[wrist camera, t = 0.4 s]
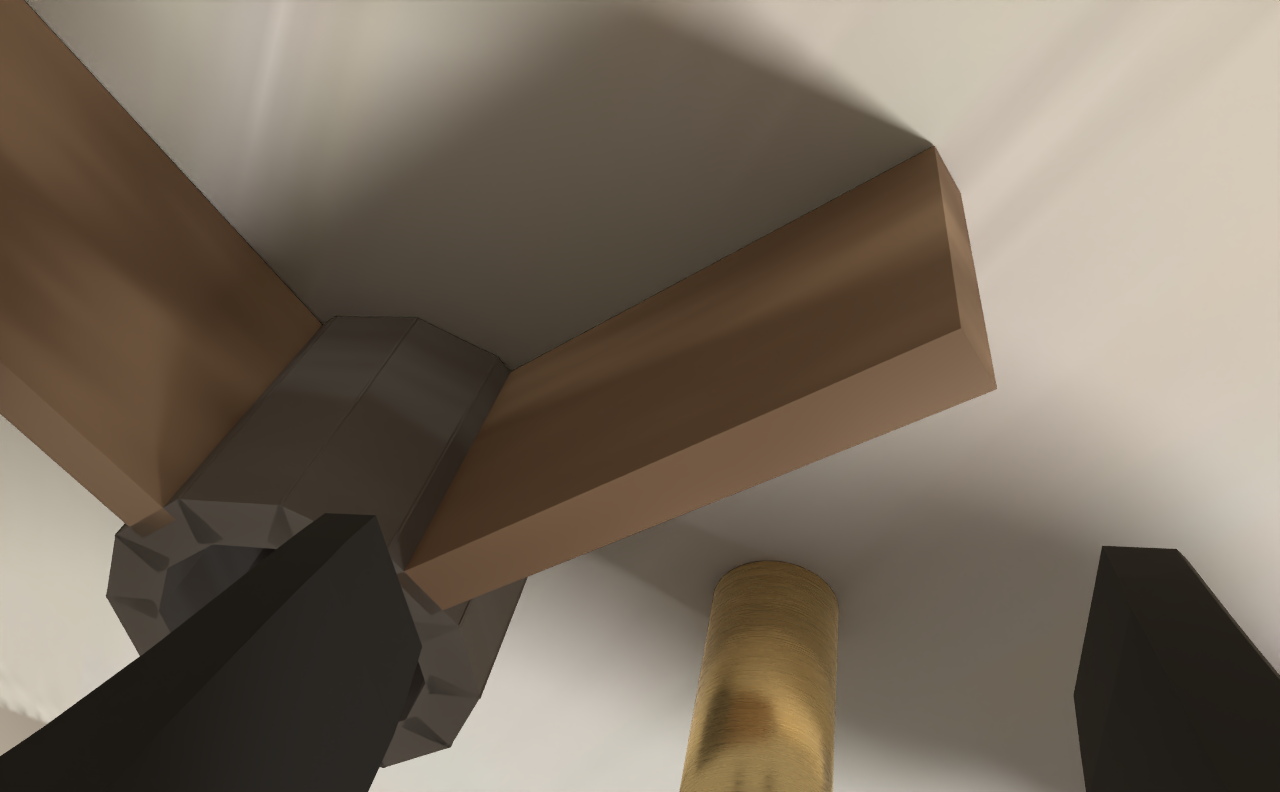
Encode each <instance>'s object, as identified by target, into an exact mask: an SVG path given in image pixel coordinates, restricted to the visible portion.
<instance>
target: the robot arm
mask: <svg viewBox="0 0 1280 792" xmlns="http://www.w3.org/2000/svg"><path fill="white" fill-rule="evenodd" d="M421 649H422V644H421V641H420V639H419V636H418V633H417V630H416V627H415V624H414V622H413V619H412V616H411V613H410V610H409V607H408V605H407V602H406V599H405V596H404V593H403V590H402V588H401V585H400V582H399V579H398V576H397V573H396V571H395V568H394V565H393V562H392V559H391V557H390V554H389V551H388V548H387V545H386V542H385V540H384V537H383V534H382V531H381V528H380V525H379V523H378V520H377V517H376V515H358V514H335V513H324V514H323V515H322V516H320V517H319V518H317V519H316V520H315V521H313V522H312V523H310V524H309V525H308V526H306V527H305V528H304V529H302V530H301V531H300V532H298V533H297V534H296V535H294V536H293V537H292V538H290V539H289V540H288V541H286V542H285V543H284V544H283V545H281V546H280V547H279V548H277V549H276V550H275V551H274V552H272V553H271V554H270V555H268V556H267V557H266V558H265V559H263V560H262V561H261V562H260V563H258V564H257V565H256V566H255V567H253V568H252V569H251V570H250V571H248V572H247V573H246V574H245V575H243V576H242V577H241V578H240V579H238V580H237V581H236V582H234V583H233V584H232V585H231V586H229V587H228V588H227V589H226V590H224V591H223V592H222V593H221V594H219V595H218V596H217V597H216V598H214V599H213V600H212V601H210V602H209V603H208V604H207V605H205V606H204V607H203V608H202V609H200V610H199V611H198V612H196V613H195V614H194V615H193V616H191V617H190V618H189V619H188V620H186V621H185V622H184V623H182V624H181V625H180V626H179V627H177V628H176V629H175V630H174V631H172V632H171V633H170V634H168V635H167V636H166V637H165V638H163V639H162V640H161V641H159V642H158V643H157V644H156V645H154V646H153V647H152V648H150V649H149V650H148V651H147V652H145V653H144V654H143V655H141V656H140V657H139V658H137V659H136V660H134V661H133V662H132V663H130V664H129V665H128V666H126V667H125V668H124V669H122V670H121V671H119V672H118V673H117V674H115V675H114V676H113V677H111V678H110V679H108V680H107V681H106V682H104V683H103V684H102V685H100V686H99V687H98V688H96V689H95V690H93V691H92V692H91V693H89V694H88V695H87V696H85V697H84V698H83V699H81V700H80V701H78V702H77V703H76V704H74V705H73V706H72V707H70V708H69V709H67V710H66V711H65V712H63V713H62V714H61V715H59V716H58V717H57V718H55V719H54V720H52V721H51V722H50V723H48V724H47V725H46V726H44V727H43V728H41V729H40V730H38V731H37V732H35V733H34V734H32V735H31V736H30V737H28V738H27V739H25V740H24V741H22V742H21V743H19V744H18V745H16V746H15V747H13V748H12V749H10V750H9V751H7V752H6V753H4V754H3V755H1V756H0V792H368V791H369V788H370V786H371V784H372V782H373V780H374V778H375V776H376V773H377V771H378V769H379V767H380V765H381V763H382V760H383V758H384V756H385V754H386V752H387V749H388V747H389V745H390V743H391V740H392V738H393V736H394V733H395V731H396V728H397V725H398V722H399V719H400V716H401V713H402V710H403V707H404V704H405V701H406V698H407V695H408V692H409V689H410V685H411V682H412V679H413V676H414V672H415V669H416V666H417V662H418V659H419V656H420V653H421ZM1074 702H1075V710H1076V718H1077V726H1078V734H1079V742H1080V751H1081V758H1082V765H1083V772H1084V780H1085V787H1086V792H1280V675H1279V674H1278V673H1277V672H1276V670H1275V669H1274V668H1273V667H1272V666H1271V664H1270V663H1269V662H1268V661H1267V659H1266V658H1265V657H1264V656H1263V655H1262V653H1261V652H1260V651H1259V650H1258V649H1257V647H1256V646H1255V645H1254V644H1253V642H1252V641H1251V640H1250V639H1249V637H1248V636H1247V635H1246V634H1245V632H1244V631H1243V630H1242V629H1241V628H1240V626H1239V625H1238V624H1237V623H1236V621H1235V620H1234V619H1233V618H1232V616H1231V615H1230V614H1229V612H1228V611H1227V610H1226V609H1225V607H1224V606H1223V605H1222V604H1221V602H1220V601H1219V600H1218V598H1217V597H1216V596H1215V595H1214V593H1213V592H1212V591H1211V590H1210V588H1209V587H1208V586H1207V584H1206V583H1205V582H1204V581H1203V579H1202V578H1201V577H1200V575H1199V574H1198V573H1197V572H1196V570H1195V569H1194V568H1193V566H1192V565H1191V564H1190V563H1189V561H1188V560H1187V559H1186V558H1185V557H1184V556H1183V555H1182V554H1181V553H1180V552H1179V551H1178V550H1177V549H1162V548H1138V547H1115V546H1102V550H1101V555H1100V561H1099V566H1098V571H1097V576H1096V582H1095V587H1094V592H1093V597H1092V602H1091V608H1090V613H1089V618H1088V623H1087V628H1086V634H1085V639H1084V644H1083V649H1082V654H1081V660H1080V665H1079V670H1078V675H1077V680H1076V686H1075V691H1074Z"/></svg>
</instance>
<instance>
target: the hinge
mask: <svg viewBox="0 0 1280 792" xmlns="http://www.w3.org/2000/svg"><path fill="white" fill-rule="evenodd" d="M996 389H997V386H996V381H995V375H994V370H993V365H992V359H991V354H990V349H989V343H988V338H987V332H986V327H985V322H984V316H983V311H982V305H981V300H980V295H979V289H978V284H977V278H976V273H975V268H974V262H973V257H972V252H971V246H970V241H969V235H968V230H967V225H966V219H965V214H964V208H963V203H962V198H961V193H960V191H959V189H958V188H957V186H956V184H955V182H954V180H953V178H952V177H951V175H950V173H949V171H948V169H947V168H946V166H945V164H944V162H943V160H942V158H941V157H940V155H939V153H938V151H937V149H936V148H935V146H933V147H931V148H929V149H927V150H925V151H924V152H922V153H920V154H918V155H916V156H914V157H912V158H910V159H909V160H907V161H905V162H903V163H901V164H899V165H897V166H895V167H894V168H892V169H890V170H888V171H886V172H884V173H882V174H880V175H879V176H877V177H875V178H873V179H871V180H869V181H867V182H865V183H864V184H862V185H860V186H858V187H856V188H854V189H852V190H851V191H849V192H847V193H845V194H843V195H841V196H839V197H837V198H836V199H834V200H832V201H830V202H828V203H826V204H824V205H822V206H821V207H819V208H817V209H815V210H813V211H811V212H809V213H807V214H806V215H804V216H802V217H800V218H798V219H796V220H794V221H793V222H791V223H789V224H787V225H785V226H783V227H781V228H779V229H778V230H776V231H774V232H772V233H770V234H768V235H766V236H764V237H763V238H761V239H759V240H757V241H755V242H753V243H751V244H749V245H748V246H746V247H744V248H742V249H740V250H738V251H736V252H734V253H733V254H731V255H729V256H727V257H725V258H723V259H721V260H720V261H718V262H716V263H714V264H712V265H710V266H708V267H706V268H705V269H703V270H701V271H699V272H697V273H695V274H693V275H691V276H690V277H688V278H686V279H684V280H682V281H680V282H678V283H676V284H675V285H673V286H671V287H669V288H667V289H665V290H663V291H662V292H660V293H658V294H656V295H654V296H652V297H650V298H648V299H647V300H645V301H643V302H641V303H639V304H637V305H635V306H633V307H632V308H630V309H628V310H626V311H624V312H622V313H620V314H618V315H617V316H615V317H613V318H611V319H609V320H607V321H605V322H603V323H602V324H600V325H598V326H596V327H594V328H592V329H590V330H589V331H587V332H585V333H583V334H581V335H579V336H577V337H575V338H574V339H572V340H570V341H568V342H566V343H564V344H562V345H560V346H559V347H557V348H555V349H553V350H551V351H549V352H547V353H545V354H544V355H542V356H540V357H538V358H536V359H534V360H532V361H531V362H529V363H527V364H525V365H523V366H521V367H519V368H517V369H516V370H514V371H512V372H510V371H509V370H508V369H507V368H506V366H505V365H504V364H503V363H502V362H501V360H500V359H499V358H498V357H497V356H494V355H492V354H490V353H488V352H486V351H484V350H482V349H480V348H478V347H476V346H474V345H472V344H470V343H468V342H466V341H463V340H461V339H459V338H457V337H455V336H453V335H451V334H449V333H447V332H445V331H443V330H441V329H439V328H437V327H435V326H433V325H431V324H428V323H426V322H424V321H422V320H420V319H419V318H416V317H415V318H392V317H337V316H336V317H334V318H333V319H331V320H330V321H328V322H327V323H325V324H324V325H322V324H321V323H320V322H319V321H318V320H317V319H316V317H315V316H314V315H313V314H312V313H311V312H310V311H309V310H308V309H307V308H306V307H305V305H304V304H303V303H302V302H301V301H300V300H299V299H298V298H297V297H296V296H295V295H294V294H293V292H292V291H291V290H290V289H289V288H288V287H287V286H286V285H285V284H284V283H283V282H282V280H281V279H280V278H279V277H278V276H277V275H276V274H275V273H274V272H273V271H272V270H271V269H270V267H269V266H268V265H267V264H266V263H265V262H264V261H263V260H262V259H261V258H260V257H259V255H258V254H257V253H256V252H255V251H254V250H253V249H252V248H251V247H250V246H249V245H248V244H247V242H246V241H245V240H244V239H243V238H242V237H241V236H240V235H239V234H238V233H237V232H236V230H235V229H234V228H233V227H232V226H231V225H230V224H229V223H228V222H227V221H226V220H225V219H224V217H223V216H222V215H221V214H220V213H219V212H218V211H217V210H216V209H215V208H214V207H213V205H212V204H211V203H210V202H209V201H208V200H207V199H206V198H205V197H204V196H203V195H202V194H201V192H200V191H199V190H198V189H197V188H196V187H195V186H194V185H193V184H192V183H191V182H190V180H189V179H188V178H187V177H186V176H185V175H184V174H183V173H182V172H181V171H180V170H179V169H178V167H177V166H176V165H175V164H174V163H173V162H172V161H171V160H170V159H169V158H168V157H167V155H166V154H165V153H164V152H163V151H162V150H161V149H160V148H159V147H158V146H157V145H156V144H155V142H154V141H153V140H152V139H151V138H150V137H149V136H148V135H147V134H146V133H145V132H144V130H143V129H142V128H141V127H140V126H139V125H138V124H137V123H136V122H135V121H134V120H133V119H132V117H131V116H130V115H129V114H128V113H127V112H126V111H125V110H124V109H123V108H122V107H121V105H120V104H119V103H118V102H117V101H116V100H115V99H114V98H113V97H112V96H111V95H110V94H109V92H108V91H107V90H106V89H105V88H104V87H103V86H102V85H101V84H100V83H99V82H98V80H97V79H96V78H95V77H94V76H93V75H92V74H91V73H90V72H89V71H88V70H87V69H86V67H85V66H84V65H83V64H82V63H81V62H80V61H79V60H78V59H77V58H76V57H75V55H74V54H73V53H72V52H71V51H70V50H69V49H68V48H67V47H66V46H65V45H64V44H63V42H62V41H61V40H60V39H59V38H58V37H57V36H56V35H55V34H54V33H53V32H52V30H51V29H50V28H49V27H48V26H47V25H46V24H45V23H44V22H43V21H42V20H41V19H40V17H39V16H38V15H37V14H36V13H35V12H34V11H33V10H32V9H31V8H30V7H29V5H28V4H27V3H26V2H25V1H24V0H0V414H1V415H2V416H4V417H5V418H6V419H7V420H8V421H9V422H10V423H12V424H13V425H14V426H15V427H16V428H17V429H18V430H20V431H21V432H22V433H23V434H24V435H25V436H26V437H27V438H29V439H30V440H31V441H32V442H33V443H34V444H35V445H37V446H38V447H39V448H40V449H41V450H42V451H43V452H45V453H46V454H47V455H48V456H49V457H50V458H51V459H53V460H54V461H55V462H56V463H57V464H58V465H59V466H61V467H62V468H63V469H64V470H65V471H66V472H67V473H69V474H70V475H71V476H72V477H73V478H74V479H75V480H77V481H78V482H79V483H80V484H81V485H82V486H83V487H84V488H86V489H87V490H88V491H89V492H90V493H91V494H92V495H94V496H95V497H96V498H97V499H98V500H99V501H100V502H102V503H103V504H104V505H105V506H106V507H107V508H108V509H110V510H111V511H112V512H113V513H114V514H115V515H116V516H118V517H119V518H120V519H121V520H122V521H123V522H124V523H125V524H124V525H123V526H122V527H121V529H120V530H119V531H118V532H117V533H116V534H115V542H114V548H113V555H112V562H111V569H110V575H109V582H108V589H107V594H106V598H107V599H108V600H109V602H110V604H111V606H112V608H113V609H114V611H115V613H116V615H117V616H118V618H119V620H120V622H121V623H122V625H123V627H124V629H125V630H126V632H127V634H128V636H129V637H130V639H131V641H132V643H133V645H134V646H135V648H136V650H137V652H138V653H139V655H140V656H141V655H143V654H144V653H145V652H147V651H148V650H149V649H150V648H152V647H153V646H154V645H156V644H157V643H158V642H159V641H161V640H162V639H163V638H165V637H166V636H167V635H168V634H170V633H171V632H172V631H174V630H175V629H176V628H177V627H179V626H180V625H181V624H182V623H184V622H185V621H186V620H188V619H189V618H190V617H191V616H193V615H194V614H195V613H196V612H198V611H199V610H200V609H202V608H203V607H204V606H205V605H207V604H208V603H209V602H210V601H212V600H213V599H214V598H216V597H217V596H218V595H219V594H221V593H222V592H223V591H224V590H226V589H227V588H228V587H229V586H231V585H232V584H233V583H234V582H236V581H237V580H238V579H240V578H241V577H242V576H243V575H245V574H246V573H247V572H248V571H250V570H251V569H252V568H253V567H255V566H256V565H257V564H258V563H260V562H261V561H262V560H263V559H265V558H266V557H267V556H268V555H270V554H271V553H272V552H274V551H275V550H276V549H277V548H279V547H280V546H281V545H283V544H284V543H285V542H286V541H288V540H289V539H290V538H292V537H293V536H294V535H296V534H297V533H298V532H300V531H301V530H302V529H304V528H305V527H306V526H308V525H309V524H310V523H312V522H313V521H315V520H316V519H317V518H319V517H320V516H322V515H323V514H324V513H335V514H358V515H376V517H377V520H378V523H379V525H380V528H381V531H382V534H383V537H384V540H385V542H386V545H387V548H388V551H389V554H390V557H391V559H392V562H393V565H394V568H395V571H396V573H397V576H398V579H399V582H400V585H401V588H402V590H403V593H404V596H405V599H406V602H407V605H408V607H409V610H410V613H411V616H412V619H413V622H414V624H415V627H416V630H417V633H418V636H419V639H420V641H421V644H422V649H421V653H420V656H419V659H418V662H417V666H416V669H415V672H414V676H413V679H412V682H411V685H410V689H409V692H408V695H407V698H406V701H405V704H404V707H403V710H402V713H401V716H400V719H399V722H398V725H397V728H396V731H395V733H394V736H393V738H392V740H391V743H390V745H389V747H388V749H387V752H386V754H385V756H384V758H383V760H382V763H381V765H380V767H382V768H385V767H387V766H391V765H394V764H397V763H400V762H404V761H407V760H410V759H413V758H417V757H420V756H423V755H427V754H430V753H433V752H436V751H440V750H443V749H446V748H450V747H451V746H452V743H453V741H454V739H455V738H456V736H457V735H458V733H459V731H460V730H461V728H462V726H463V725H464V723H465V721H466V720H467V718H468V716H469V715H470V713H471V711H472V710H473V708H474V707H475V705H476V703H477V702H478V700H479V699H480V698H481V695H482V693H483V690H484V688H485V685H486V683H487V680H488V678H489V675H490V672H491V670H492V667H493V665H494V662H495V660H496V657H497V654H498V652H499V649H500V647H501V644H502V642H503V639H504V636H505V634H506V631H507V629H508V626H509V624H510V621H511V618H512V616H513V613H514V611H515V608H516V606H517V603H518V600H519V598H520V595H521V593H522V590H523V588H524V585H525V583H526V580H527V577H528V576H530V575H533V574H535V573H538V572H540V571H543V570H545V569H548V568H550V567H553V566H555V565H558V564H560V563H563V562H565V561H568V560H570V559H573V558H575V557H578V556H580V555H583V554H585V553H588V552H590V551H593V550H595V549H598V548H600V547H603V546H605V545H608V544H610V543H613V542H615V541H618V540H620V539H623V538H625V537H628V536H630V535H633V534H635V533H638V532H640V531H643V530H645V529H648V528H650V527H653V526H655V525H658V524H660V523H663V522H665V521H668V520H670V519H673V518H675V517H678V516H680V515H683V514H685V513H688V512H690V511H693V510H695V509H698V508H700V507H703V506H705V505H708V504H710V503H713V502H715V501H718V500H720V499H723V498H725V497H728V496H730V495H733V494H735V493H738V492H740V491H743V490H745V489H748V488H750V487H753V486H755V485H758V484H760V483H763V482H765V481H768V480H770V479H773V478H775V477H778V476H780V475H783V474H785V473H788V472H790V471H793V470H795V469H798V468H800V467H803V466H805V465H808V464H810V463H813V462H815V461H818V460H820V459H823V458H825V457H828V456H830V455H833V454H835V453H838V452H840V451H843V450H845V449H848V448H850V447H853V446H855V445H858V444H860V443H863V442H865V441H868V440H870V439H873V438H875V437H878V436H880V435H883V434H885V433H888V432H890V431H893V430H895V429H898V428H900V427H903V426H905V425H908V424H910V423H913V422H915V421H918V420H920V419H923V418H925V417H928V416H931V415H933V414H936V413H938V412H941V411H943V410H946V409H948V408H951V407H953V406H956V405H958V404H961V403H963V402H966V401H968V400H971V399H973V398H976V397H978V396H981V395H983V394H986V393H988V392H991V391H993V390H996Z"/></svg>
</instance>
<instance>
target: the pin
mask: <svg viewBox="0 0 1280 792" xmlns="http://www.w3.org/2000/svg"><path fill="white" fill-rule="evenodd" d="M838 614H839V610H838V603H837V599H836V597H835V595H834V593H833V591H832V590H831V588H830V587H829V586H828V585H827V584H826V583H825V582H824V581H823V580H822V579H821V578H820V577H818V576H817V575H815V574H814V573H812V572H810V571H808V570H806V569H804V568H802V567H799V566H796V565H793V564H789V563H784V562H776V561H761V562H754V563H749V564H745V565H742V566H740V567H737V568H735V569H733V570H732V571H730V572H729V573H727V574H726V575H725V576H724V577H723V578H722V579H721V580H720V581H719V583H718V585H717V586H716V589H715V592H714V597H713V602H712V608H711V614H710V620H709V625H708V631H707V637H706V643H705V648H704V654H703V660H702V666H701V671H700V677H699V683H698V689H697V694H696V700H695V706H694V712H693V717H692V723H691V729H690V735H689V740H688V746H687V752H686V758H685V763H684V769H683V775H682V781H681V786H680V792H833V764H834V734H835V704H836V674H837V644H838Z"/></svg>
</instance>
